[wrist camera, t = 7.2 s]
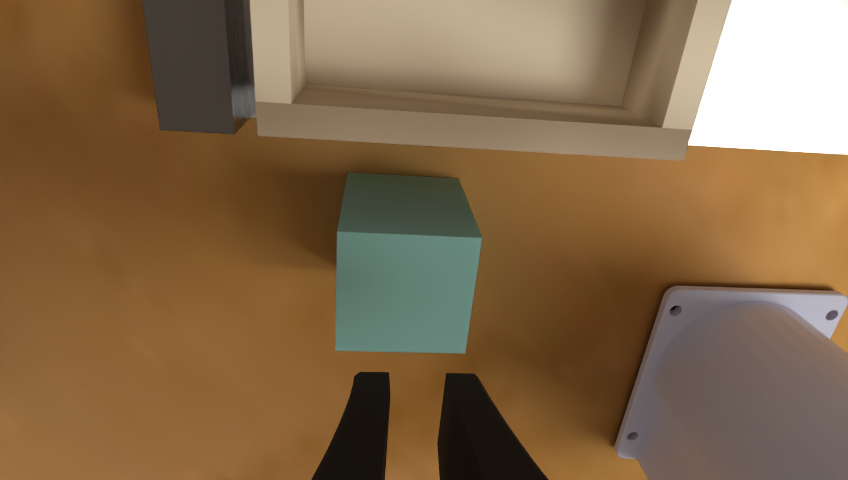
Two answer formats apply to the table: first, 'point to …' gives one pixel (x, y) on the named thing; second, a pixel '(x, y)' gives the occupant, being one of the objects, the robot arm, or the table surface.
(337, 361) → the table surface
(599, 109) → the brown open box
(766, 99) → the rail board
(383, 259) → the block
